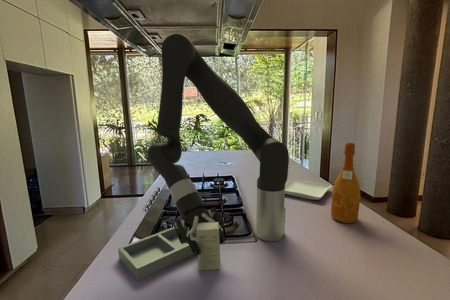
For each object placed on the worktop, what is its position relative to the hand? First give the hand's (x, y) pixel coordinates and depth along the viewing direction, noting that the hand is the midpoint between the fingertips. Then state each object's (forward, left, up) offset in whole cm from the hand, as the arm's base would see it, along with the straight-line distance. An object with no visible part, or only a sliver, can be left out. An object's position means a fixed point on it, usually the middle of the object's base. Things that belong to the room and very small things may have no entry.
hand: (211, 248), depth 72 cm
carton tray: (+5, -15, -6) cm, 17 cm away
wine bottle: (-57, +12, -6) cm, 58 cm away
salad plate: (-72, -14, -6) cm, 74 cm away
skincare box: (0, -1, -6) cm, 6 cm away
